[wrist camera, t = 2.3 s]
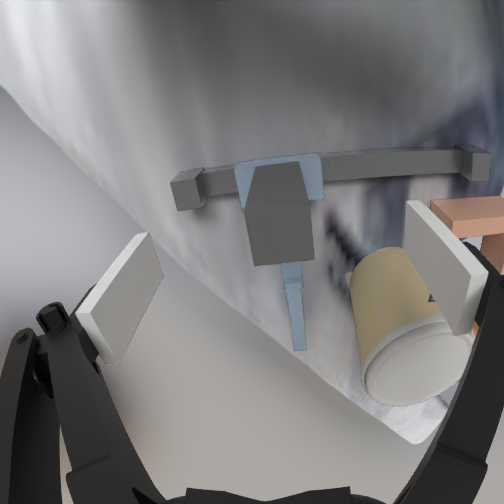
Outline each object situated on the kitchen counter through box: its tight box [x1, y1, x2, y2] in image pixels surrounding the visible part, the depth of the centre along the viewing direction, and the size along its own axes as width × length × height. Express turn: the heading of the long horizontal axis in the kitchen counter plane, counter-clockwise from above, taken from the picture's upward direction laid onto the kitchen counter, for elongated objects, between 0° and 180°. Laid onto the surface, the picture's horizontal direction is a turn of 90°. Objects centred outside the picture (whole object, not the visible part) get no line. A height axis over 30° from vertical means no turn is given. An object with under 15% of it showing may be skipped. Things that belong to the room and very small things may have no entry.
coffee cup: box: [350, 247, 475, 406], centre depth 24 cm, size 9×9×12 cm
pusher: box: [234, 153, 324, 351], centre depth 23 cm, size 18×6×11 cm, turn 10°
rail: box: [170, 145, 491, 211], centre depth 23 cm, size 2×26×3 cm, turn 100°
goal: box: [430, 196, 504, 338], centre depth 26 cm, size 16×9×4 cm, turn 10°
